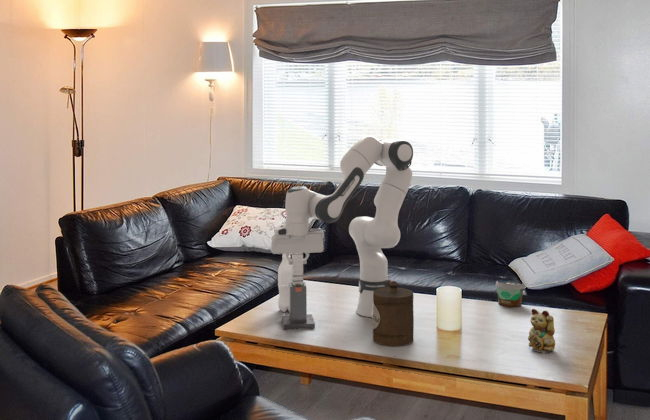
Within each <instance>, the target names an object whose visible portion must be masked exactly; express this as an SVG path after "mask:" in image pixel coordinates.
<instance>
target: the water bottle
mask: <svg viewBox="0 0 650 420" xmlns="http://www.w3.org/2000/svg"><path fill="white" fill-rule="evenodd" d="M281 255H282V256H281V258H282V259H281V262H280V263H279V267H278V269H277V287H278V295H279V297H278V301H277V303H278V304H277V305H278V309H279V311H281V312H283V313H286V312H287V311H288V312H289V283H292V265H289V264H288V259H287V257H286V255H285V253H283V254H281ZM288 257H289V258H290V259H291V258H292V255H291V253H289V256H288Z"/></svg>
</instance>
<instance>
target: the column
mask: <svg viewBox="0 0 650 420" xmlns="http://www.w3.org/2000/svg"><path fill="white" fill-rule="evenodd" d="M291 259H292V286H296V285H297V284H301V286H303V282H304V264H303V259H304V253H291Z"/></svg>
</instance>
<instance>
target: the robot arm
mask: <svg viewBox="0 0 650 420" xmlns="http://www.w3.org/2000/svg"><path fill="white" fill-rule="evenodd" d="M413 156H414V148H413V146H412V144H411V143H410V142H409V141H408V140H404V139H401V138H399V139H397V138H389V139H381V140H380V139H378V138H377V137H375V136H373V135H365V136H364V137H363V138H361V139H360V140H358V141H357V142H356V143H354V144H353V145H352V146H351V147H350V148H349V150H347V152H346V153H345V154H344V155H343V157H342V158H341V160H340V163H339V165H340V166H339V168H340V170H341V172H342V174H343V175H344V177H343V180H342V182H341V183H340V184H339V186H338V187H337V188H336V189H335V191H334V192H333V193H332V194H327V195H325V194H322V193H317V192H315V191H312V190H311V189H309V188H308V187H307V186H305V185H298V186H292V187H290V188H289V189H287V191H286V195H285V207H284V208H285V210H284V211H285V213H286V217H285V223H284V224H280V225H278V226H275V227H274V229H273V233H274V234H273V235H272V237H271V241H270V242H271V243H270V251H271V253H272V254H273V255H277V254H278V255H279V254H281V255H283V253H285V255H286V257H287V259H288V264H289V265H292V258H291V257H290V258H289V257H288V256H289V253H290V254H292V253H303V254H305V257H304V258H303V265H307V263H308V262H307V260H308V259H309V257H310V254H311V253H312V254H313V253H323V252H324V249H325V248H324V245H325V244H324V239H325V232H324V230H323V229H321V228H320V227H318V228H309V227H310V226H309V225H310V224H309V221H310V220H309V219H310V218H312V219H315V220H319V221H321V222H324V223H326V224H333V223H335V222H337V221H338V220H339V219H340V217H341V215H342V214H343V211H344V209H345V207H346V205H347V203H348V202H349V201H350V199H351V198H352V197H353V195H354V194H355V193H356V191H357V189H358V188H359V187H360V185H361V184H362V182H363V181H364V178H365V175H366V174H367V172H368V171H369V170H370V169H371V168H372V167H373V166H374V164H375V165H377V166H380V167H385V168H386V169H385V174H384V175H385V176H384V177H383V179H382V182H381V184H380V186H379V187H378V190H377V192H376V195H375V196H374V199H373V203H374V206H375V207H376V209H375V210H376V211H375V216H374V217H371V216H367V215H366V216H356V217H355V218H353V219H352V220H351V221H350V223H349V225H348V233H349V235H350V237H351V238H352V240H353V242H354V244H355V246H356V250H357V253H358V257H359V279H358V292H359V297H358V303H357V308H356V310H355V313H356V314H357V315H360V316H363V317H366V318H367V317H368V318H371V319H373V292H374V290H376V289H379V288H385V287H390V286H389V283H390V282H391V281H393V280H392V279H390V278H389V277H388V259H387V257H386V256H385V254H384V253H383V250H382V249H391V248H395V246H397V245H398V243H399V242H400V239H401V231H400V228H399V222H398V219H399V213H400V210H401V207H402V205H403V202H404V201H405V197H406V195H407V194H408V191H409V188H410V185H411V183H412V178H413V171H412V169H411V168H410V167H411V165H412V160H413V159H414V157H413Z"/></svg>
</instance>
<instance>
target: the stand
mask: <svg viewBox="0 0 650 420" xmlns="http://www.w3.org/2000/svg"><path fill="white" fill-rule="evenodd" d="M307 305H308V304H307V284H306V282H305V281H303V286H301V284H297V285H296V286H292V283H289V311H288V312H289V314H287V315H285V314H284V315H281V323H282V328H283V331H284V330H305V329H306V330H307V329H316V323H315V319H314V317H313V314H310V313H309V314H308V313H307Z"/></svg>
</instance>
